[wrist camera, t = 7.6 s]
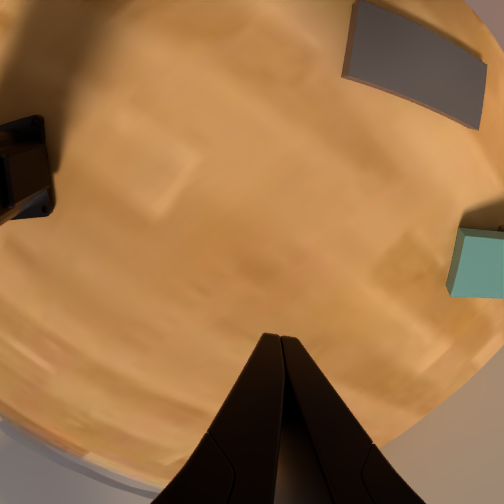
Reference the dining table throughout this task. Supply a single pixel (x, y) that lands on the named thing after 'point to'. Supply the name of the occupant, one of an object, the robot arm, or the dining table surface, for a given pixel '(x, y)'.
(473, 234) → the domino
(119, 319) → the dining table surface
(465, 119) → the domino
